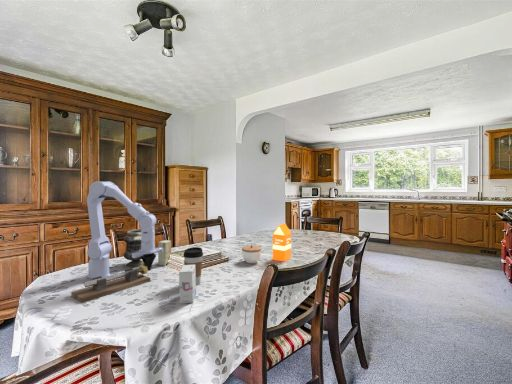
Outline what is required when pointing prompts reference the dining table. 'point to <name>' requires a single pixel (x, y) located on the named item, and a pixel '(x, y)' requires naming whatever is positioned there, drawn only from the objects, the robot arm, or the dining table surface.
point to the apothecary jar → (133, 247)
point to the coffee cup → (194, 260)
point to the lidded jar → (251, 253)
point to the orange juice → (282, 243)
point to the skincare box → (164, 252)
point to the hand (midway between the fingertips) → (148, 270)
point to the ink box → (187, 283)
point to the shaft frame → (109, 286)
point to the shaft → (118, 275)
